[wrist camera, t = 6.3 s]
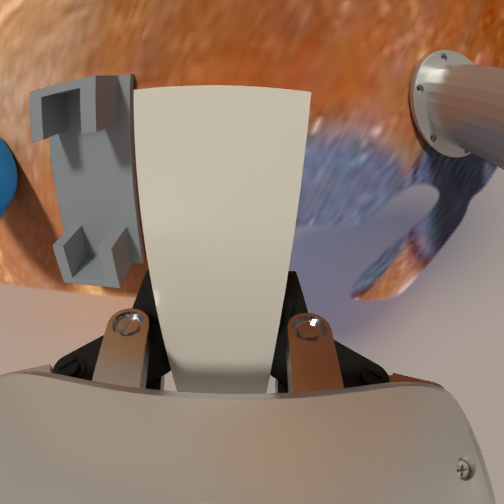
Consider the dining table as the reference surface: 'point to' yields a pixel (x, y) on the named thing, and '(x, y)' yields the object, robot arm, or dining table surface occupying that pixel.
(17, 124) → the dining table surface
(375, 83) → the dining table surface
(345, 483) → the robot arm
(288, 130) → the light grey rectangular block
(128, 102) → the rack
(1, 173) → the alarm clock
